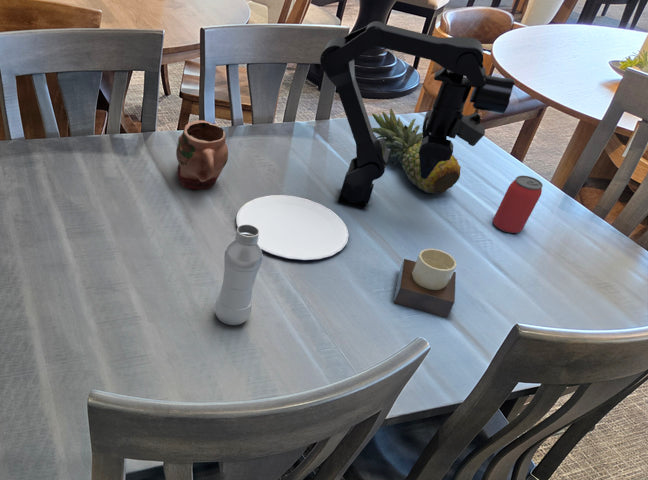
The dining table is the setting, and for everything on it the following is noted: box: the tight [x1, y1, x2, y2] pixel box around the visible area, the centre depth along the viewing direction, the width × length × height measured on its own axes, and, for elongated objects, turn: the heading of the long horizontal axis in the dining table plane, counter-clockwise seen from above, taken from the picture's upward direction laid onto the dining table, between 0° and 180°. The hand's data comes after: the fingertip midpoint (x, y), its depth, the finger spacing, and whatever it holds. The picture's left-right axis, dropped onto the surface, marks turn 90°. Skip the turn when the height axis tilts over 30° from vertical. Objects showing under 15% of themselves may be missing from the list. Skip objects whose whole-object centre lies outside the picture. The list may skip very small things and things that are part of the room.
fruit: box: [371, 107, 462, 195], centre depth 162 cm, size 14×12×30 cm
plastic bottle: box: [214, 225, 264, 326], centre depth 111 cm, size 6×7×20 cm
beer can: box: [492, 175, 544, 234], centre depth 143 cm, size 7×7×12 cm
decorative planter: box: [175, 119, 229, 190], centre depth 150 cm, size 20×12×14 cm, turn 13°
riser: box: [393, 258, 457, 318], centre depth 125 cm, size 10×10×4 cm
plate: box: [235, 194, 349, 261], centre depth 141 cm, size 25×25×1 cm
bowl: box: [412, 248, 457, 290], centre depth 122 cm, size 7×7×5 cm
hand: (424, 168), depth 141 cm, fingers open, 9 cm apart
